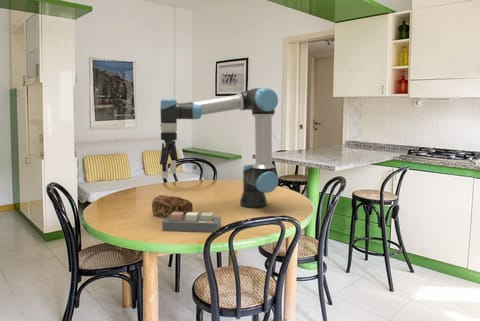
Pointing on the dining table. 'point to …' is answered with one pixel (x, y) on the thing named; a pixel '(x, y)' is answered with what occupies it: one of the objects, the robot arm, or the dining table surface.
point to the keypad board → (191, 225)
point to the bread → (170, 205)
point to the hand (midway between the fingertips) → (169, 175)
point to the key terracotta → (176, 216)
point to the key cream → (192, 216)
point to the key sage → (207, 217)
